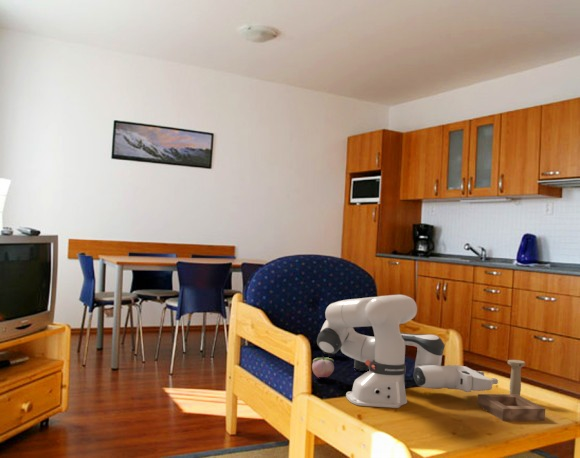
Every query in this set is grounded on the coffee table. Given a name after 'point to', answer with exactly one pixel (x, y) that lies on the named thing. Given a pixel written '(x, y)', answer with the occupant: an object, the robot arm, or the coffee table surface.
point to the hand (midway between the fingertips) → (489, 377)
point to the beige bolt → (515, 376)
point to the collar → (511, 407)
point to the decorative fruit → (322, 367)
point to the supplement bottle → (360, 365)
